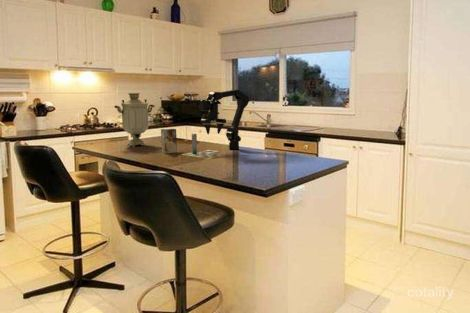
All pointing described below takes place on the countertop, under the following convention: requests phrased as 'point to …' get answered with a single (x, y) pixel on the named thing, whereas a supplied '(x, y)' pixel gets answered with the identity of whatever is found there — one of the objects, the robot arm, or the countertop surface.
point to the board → (205, 154)
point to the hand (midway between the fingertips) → (213, 134)
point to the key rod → (194, 143)
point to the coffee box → (169, 140)
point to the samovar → (135, 117)
